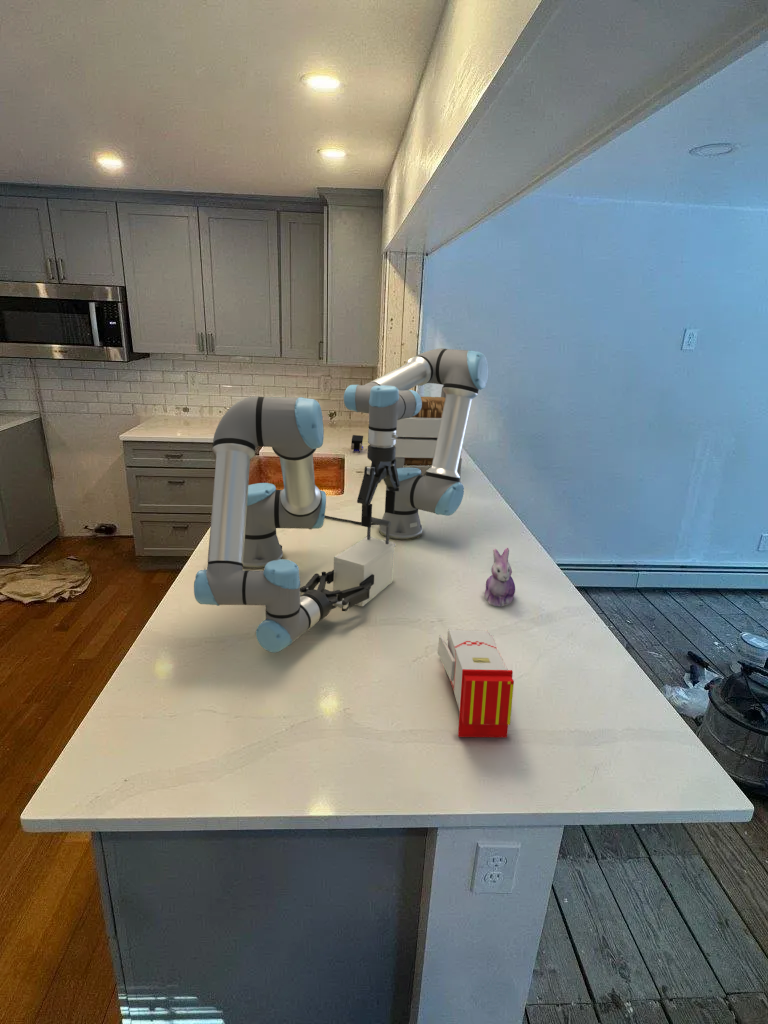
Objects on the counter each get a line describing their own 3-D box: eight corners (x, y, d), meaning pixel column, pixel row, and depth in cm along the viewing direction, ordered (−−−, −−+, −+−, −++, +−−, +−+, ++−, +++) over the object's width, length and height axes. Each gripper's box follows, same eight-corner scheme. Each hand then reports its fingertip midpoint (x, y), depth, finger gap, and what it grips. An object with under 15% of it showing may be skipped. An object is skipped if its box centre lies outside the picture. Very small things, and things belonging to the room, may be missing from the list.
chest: (364, 574, 169) (365, 540, 165) (392, 581, 165) (394, 547, 161) (333, 597, 154) (333, 561, 151) (362, 606, 150) (364, 569, 147)
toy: (488, 613, 130) (523, 677, 101) (484, 667, 133) (517, 744, 104) (435, 612, 130) (455, 676, 101) (432, 666, 133) (451, 743, 103)
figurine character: (362, 456, 306) (363, 447, 319) (363, 443, 302) (363, 434, 316) (350, 456, 306) (351, 446, 319) (350, 442, 302) (351, 433, 316)
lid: (367, 539, 166) (368, 513, 163) (395, 546, 162) (396, 520, 159) (333, 561, 151) (334, 532, 148) (364, 569, 147) (365, 540, 144)
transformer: (382, 463, 289) (386, 382, 275) (445, 464, 293) (451, 384, 279) (390, 482, 257) (394, 392, 243) (460, 483, 261) (468, 394, 247)
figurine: (497, 611, 151) (503, 559, 146) (474, 594, 159) (479, 545, 154) (524, 604, 155) (532, 554, 150) (501, 588, 163) (507, 540, 158)
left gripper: (272, 611, 141) (322, 577, 160) (347, 636, 132) (392, 597, 150) (271, 584, 138) (323, 552, 157) (348, 608, 129) (393, 571, 148)
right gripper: (371, 455, 140) (367, 535, 147) (414, 439, 161) (409, 509, 168) (345, 451, 143) (343, 529, 150) (390, 435, 164) (387, 505, 171)
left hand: (356, 574), depth 154 cm, fingers closed on chest, 9 cm apart
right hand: (378, 519), depth 159 cm, fingers open, 13 cm apart
